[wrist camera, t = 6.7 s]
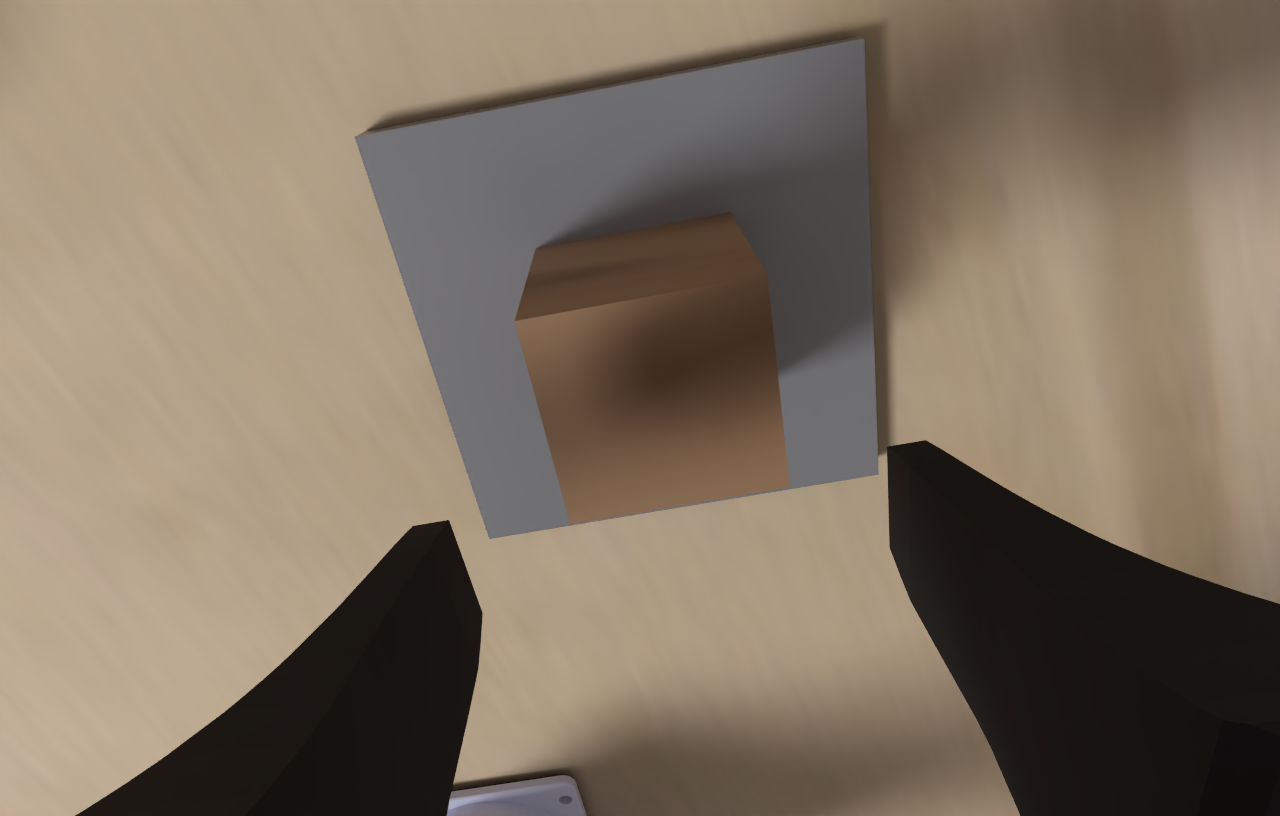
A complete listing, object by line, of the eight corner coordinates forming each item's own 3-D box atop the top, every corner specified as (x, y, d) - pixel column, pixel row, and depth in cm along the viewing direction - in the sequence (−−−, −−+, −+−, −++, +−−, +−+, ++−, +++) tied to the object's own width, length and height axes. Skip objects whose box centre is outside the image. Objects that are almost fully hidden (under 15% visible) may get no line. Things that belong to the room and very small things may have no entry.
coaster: (870, 460, 24) (878, 474, 23) (492, 523, 24) (489, 539, 24) (854, 36, 18) (864, 38, 17) (364, 131, 19) (354, 136, 18)
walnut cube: (752, 387, 21) (789, 487, 17) (578, 418, 22) (570, 524, 17) (730, 212, 19) (767, 275, 15) (535, 248, 19) (514, 321, 15)
